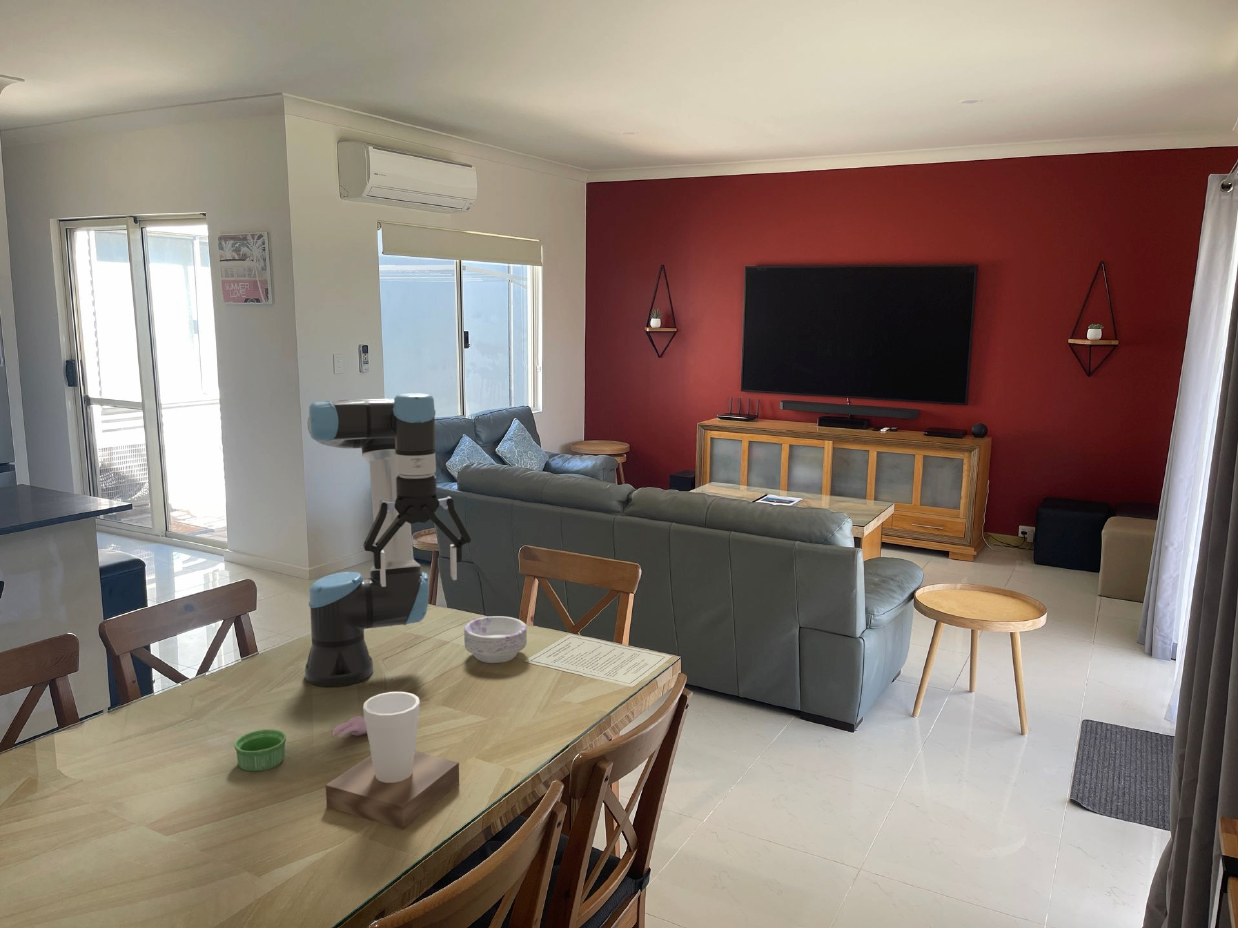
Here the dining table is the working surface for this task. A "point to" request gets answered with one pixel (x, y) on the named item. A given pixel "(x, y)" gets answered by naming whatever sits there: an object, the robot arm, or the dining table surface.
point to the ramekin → (260, 749)
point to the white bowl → (495, 638)
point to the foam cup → (392, 734)
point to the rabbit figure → (351, 727)
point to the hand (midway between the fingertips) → (418, 581)
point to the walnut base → (393, 790)
